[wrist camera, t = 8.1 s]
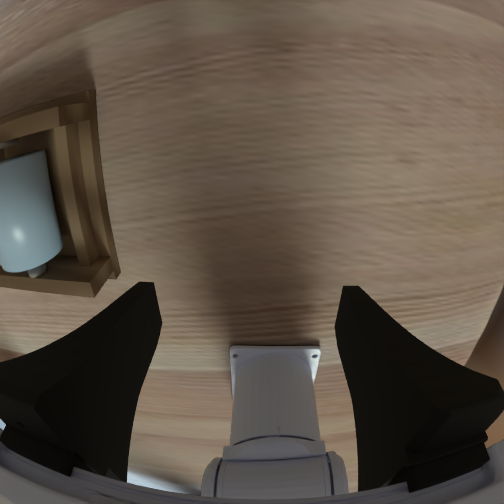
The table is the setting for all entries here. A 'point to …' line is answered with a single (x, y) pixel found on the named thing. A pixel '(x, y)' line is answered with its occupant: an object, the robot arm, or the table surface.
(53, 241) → the tapered cup
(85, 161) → the holder
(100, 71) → the table surface
